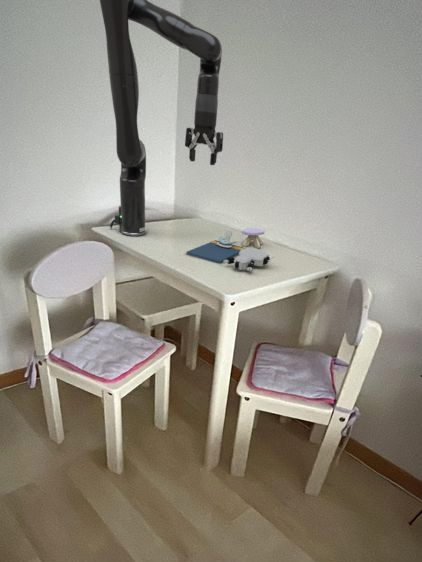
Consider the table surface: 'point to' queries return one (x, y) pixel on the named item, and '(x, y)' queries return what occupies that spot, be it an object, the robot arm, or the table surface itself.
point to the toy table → (253, 236)
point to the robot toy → (249, 259)
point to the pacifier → (226, 239)
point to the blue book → (214, 252)
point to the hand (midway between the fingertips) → (202, 163)
